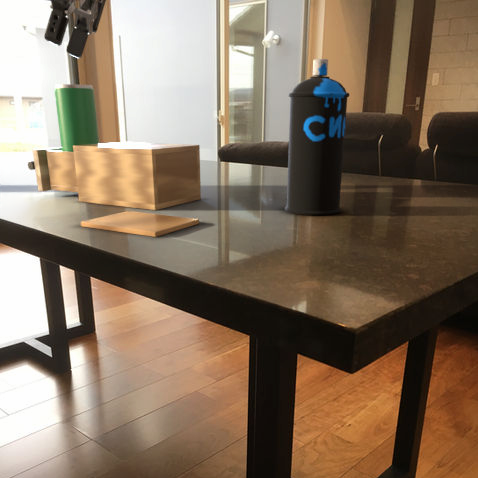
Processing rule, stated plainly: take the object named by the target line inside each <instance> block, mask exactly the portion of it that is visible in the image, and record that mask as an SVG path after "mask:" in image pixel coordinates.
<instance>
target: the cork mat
mask: <svg viewBox="0 0 478 478" xmlns="http://www.w3.org/2000/svg"><path fill="white" fill-rule="evenodd" d="M199 224H200V219H199V218H191V217H183V216H175V215H166V214H157V213H149V212H141V211H140V212H139V211H132V210H126V211H122V212H117V213H114V214H113V213H112V214H108V215H104V216H100V217H95V218H91V219H86V220H83V221H80V227H84V228H90V229H97V230H103V231H104V230H105V231H110V232H111V231H112V232H118V233H124V234H125V233H126V234H132V235H139V236H144V237H145V236H146V237H153V238H157V237H161V236H163V235H167V234H170V233H174V232H176V231H181V230H183V229H186V228H187V229H188V228H189V227H192V226H196V225H199Z"/></svg>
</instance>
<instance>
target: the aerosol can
mask: <svg viewBox="0 0 478 478" xmlns="http://www.w3.org/2000/svg"><path fill="white" fill-rule="evenodd" d="M312 62H313V64H312V76H310V77H309V78H307V79H305V80H303V81H301V82H299V83H298V84H297V85H295V87H294V88H293V89H292V90H291V91H292V92H289V93H288V97H289V98H290V100H289V126H288V127H289V128H288V129H289V132H288V161H287V188H286V206H285V207H284V210H285V212H287V213H290V214H294V215H302V216H331V215H336V214H339V213H340V212H341V211H342V207H340V203H341V191H342V175H343V161H344V150H345V149H344V148H345V137H346V122H347V110H348V109H347V108H348V107H347V106H348V98H349V97H350V93H349V92H347V90H346V88H345V87H344V85H343V84H342V83H341V82H339V81H337V80H335V79H332V78H330V76H328V72H329V71H328V69H329V59H328V58H314V59H313V61H312Z"/></svg>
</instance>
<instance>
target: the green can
mask: <svg viewBox="0 0 478 478" xmlns="http://www.w3.org/2000/svg"><path fill="white" fill-rule="evenodd" d="M54 87H55V88H54V97H55V106H56V116H57V122H58V131H59V140H60V147H61V149H62V151H69V152H74V150H73V146H75V145H90V144H100V141H99V139H100V138H99V128H98V118H97V108H96V96H95V89H94V88H93V85H92V84H77V83H76V84H69V83H68V84H67V83H65V84H55V85H54Z"/></svg>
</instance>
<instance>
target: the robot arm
mask: <svg viewBox="0 0 478 478" xmlns="http://www.w3.org/2000/svg"><path fill="white" fill-rule="evenodd" d="M48 1H50V3H49V6H50V10H51V12H50V15H49V18H48V22H47V25H46V29H45V32H44V36H43V37H44V40H45V41H46V42H48V43H50V44H53V45H55V46H57V47H60V46H62V44H63V41H64V38H65V34H66V31H67V27H68V25H69V21H70V18H69V17H70V16H71V15H72V14H74V17H73V18H74V20H73V26H72V30H71V33H70V36H69V40H68V43H67V45H66V49H65V50H66V53H67V54H68V55H69V56H72V57H75V58H77V59H81V58H83V57H82V56H83V53H84V51H85V48H86V44H87V41H88V39H89V35H92V33H93V34H97V32H98V28H99V25H100V22H101V18H102V15H103V12H104V8H105V5H106V2H107V0H48Z"/></svg>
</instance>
